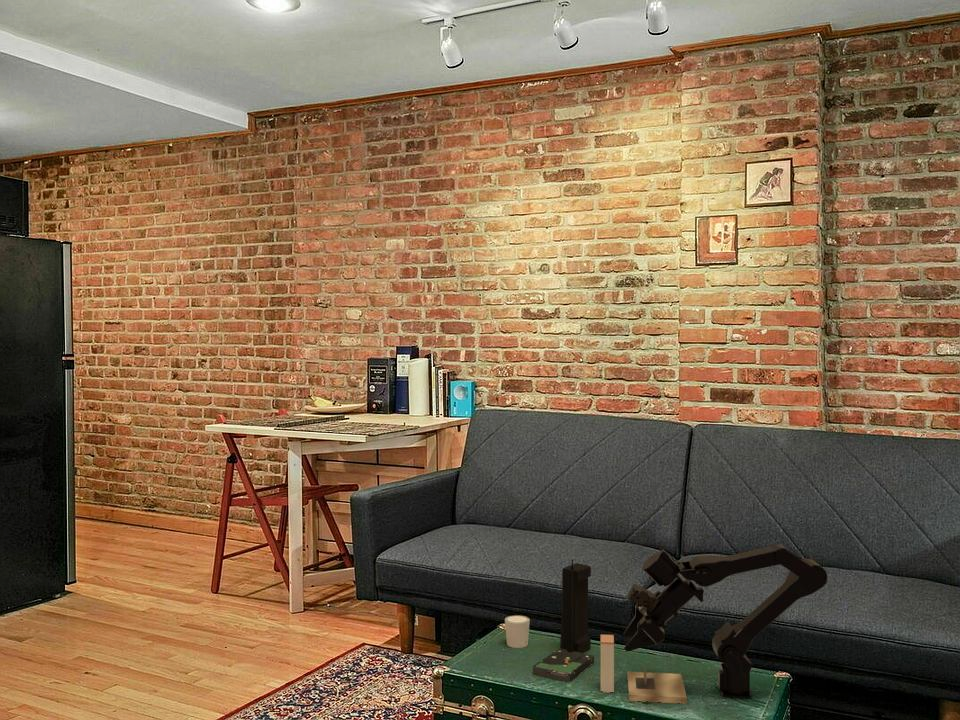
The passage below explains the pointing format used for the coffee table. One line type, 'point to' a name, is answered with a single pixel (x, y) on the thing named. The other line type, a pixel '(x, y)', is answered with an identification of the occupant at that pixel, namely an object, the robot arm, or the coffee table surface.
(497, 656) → the coffee table surface
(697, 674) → the coffee table surface
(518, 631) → the white cup
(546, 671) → the disk drive
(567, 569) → the dark tower with antenna
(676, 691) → the header board
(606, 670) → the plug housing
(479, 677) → the coffee table surface
